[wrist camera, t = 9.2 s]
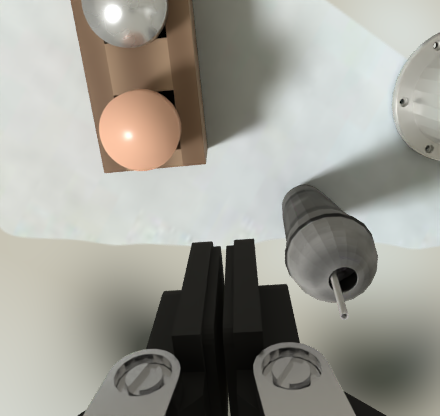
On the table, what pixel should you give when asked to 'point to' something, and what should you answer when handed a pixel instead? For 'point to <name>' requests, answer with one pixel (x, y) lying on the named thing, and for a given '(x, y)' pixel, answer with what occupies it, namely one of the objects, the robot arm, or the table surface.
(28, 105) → the table surface
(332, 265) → the beverage cup
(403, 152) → the table surface
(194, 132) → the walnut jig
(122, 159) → the peach domed piece
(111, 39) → the steel plug
